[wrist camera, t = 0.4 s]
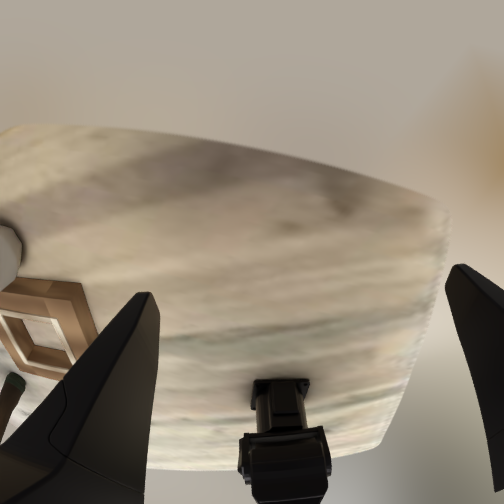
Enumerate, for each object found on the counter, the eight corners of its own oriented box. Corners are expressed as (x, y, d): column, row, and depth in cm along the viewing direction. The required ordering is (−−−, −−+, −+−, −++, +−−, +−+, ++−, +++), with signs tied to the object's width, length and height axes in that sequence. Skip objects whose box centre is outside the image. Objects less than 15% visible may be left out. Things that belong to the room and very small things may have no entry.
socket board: (114, 374, 33) (108, 392, 31) (26, 357, 32) (19, 371, 30) (80, 283, 26) (69, 302, 23) (-16, 273, 25) (-28, 288, 22)
